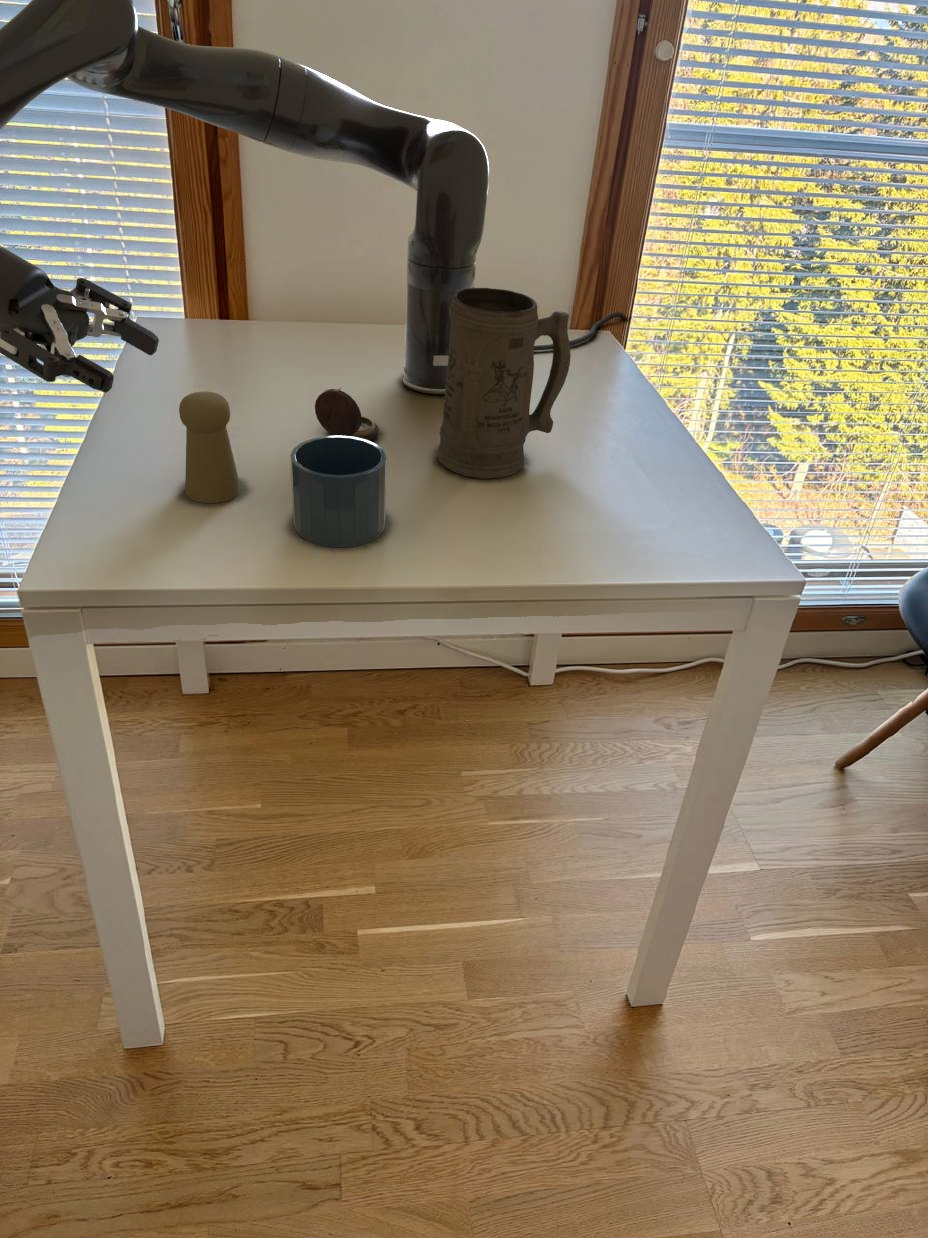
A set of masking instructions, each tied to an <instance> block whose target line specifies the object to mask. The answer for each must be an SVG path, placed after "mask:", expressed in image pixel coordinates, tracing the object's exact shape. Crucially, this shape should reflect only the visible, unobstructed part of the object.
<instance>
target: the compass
mask: <svg viewBox="0 0 928 1238" xmlns="http://www.w3.org/2000/svg"><path fill="white" fill-rule="evenodd" d="M314 412H315V413H314V414H315V416H316V419H317V421H318V423H319V424H320V425H321V427H322V428H323V429H324V430H325V431H326V432H327V433H329V434H330V436H351V437H357V438H361V439H365V440H368V441H371V440H373V439H374V438H376V437H377V436H378V435H379V426H378V424H377V423H375V422H374V421H372V420H371V419H370V418H368V417H365V416H362V413H361V410H360V407H359V405H358V403H357V402H356V400H355V399H353V398H352V395H351V396H350V395H349V394H348V393H346V392H345V391H343V390H342V387H339V388H329V389H326V390H324V391H323V392H322V393H320V394H319V395H318V396H317V398H316V399H315V403H314Z"/></svg>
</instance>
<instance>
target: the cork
mask: <svg viewBox="0 0 928 1238" xmlns="http://www.w3.org/2000/svg"><path fill="white" fill-rule="evenodd" d="M178 413H179V418H180V421H181V423H182V425H184V427H185V428H186V435H185V437H186V439H185V441H186V442H185V476H184V477H185V479H184V492H185V493H184V494H185V496H186V497H187V498H188V499H190V500H192V501H194V502H198V503H202V504H220V503H223V502H225V503H226V502H228V501H230V500H233V499H235V498H236V497H238V496H239V495H240V493H241V491H242V488H241V483H240V479H239V475H238V471H237V466H236V463H235V458H234V453H233V450H232V445H231V441H230V437H229V431H228V428H227V425H228V423H229V422H230V419H231V408H230V404H229V401H228V400H227V399H226V398H225V396H223V395H221V394H219V393H217V392H213V391H195V392H192V393H189V394H187V395H185V396H184V397H182V399H181V401H180V403H179V405H178Z"/></svg>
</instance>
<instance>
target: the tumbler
mask: <svg viewBox="0 0 928 1238" xmlns="http://www.w3.org/2000/svg"><path fill="white" fill-rule="evenodd" d="M289 457H290V477H291V478H290V479H291V496H292V497H291V500H292V518H293V527H294V530H295V532H296V533H297V534H298V536H300V537H301V538H302V539H304V540H305V541H307V542H310V543H312V544H315V545H317V546H323V547H329V548H351V547H357V546H362V545H365V544H368V543H370V542H373V541H374V540H376V539H377V538H379V537H380V536H381V535H382V533H383V532H384V530H385V527H386V518H387V517H386V515H387V514H386V512H387V468H388V467H387V466H388V465H387V464H388V463H387V459H388V456H387V454H386V452H385V450H384V448H382V447H381V446H379V445H378V444H377V443H375V442H372V441H371V440H369V441H368V440H365V439H361V438H357V437H351V436H332V435H325V436H319V437H313V438H310V439H307V440H305V441H303V442H302V441H301V442H300V443H299V444H297V445H296V446H295V447H293V448H292V451H291V453H290V455H289Z"/></svg>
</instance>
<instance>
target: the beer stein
mask: <svg viewBox="0 0 928 1238" xmlns="http://www.w3.org/2000/svg"><path fill="white" fill-rule="evenodd" d="M449 316H450V319H451V334H450V346H449V357H448V368H447V378H446V388H445V394H444V399H443V410H442V411H443V413H442V421H441V422H442V423H441V425H440V429H439V439H440V440H439V445H438V449H437V459H438V461H439V463H440V464H441V465H442V466H444V468H446V469H448V470H450V471H451V472H454V473H456V474H458V475H460V476H464V477H470V478H476V479H499V478H504V477H509V476H511V475H515V474H516V473H518V472H520V471H521V470H522V468H523V466H524V464H525V451H524V445H525V443H526V439H527V436H528V434H529V433H531V432H535V431H538V432H542V433H545V434H549V433H552V429H553V427H554V420H553V418H552V415H551V411H552V408H553V406H554V403H555V402H556V400H557V398H558V396H559V394H560V393H561V391H562V390H563V387H564V385H565V382H566V380H567V378H568V377H567V376H568V374H569V371H570V365H571V355H572V354H571V346H570V343H569V341H570V339H569V333H568V331H569V329H568V328H569V327H568V325H569V318H570V314H569V313H568V312H565V311H557V310H555V311H553V312H552V313H551V315H549V316H547V317H542V318H539V313H538V304H537V302H536V300H535V299H534V298H532V297H531V296H529V295H526V294H523V293H520V292H516V291H514V290H509V289H501V288H489V287H474V288H467V289H462V290H459V291H457V292H455V294H454V295H453V297H452V302H451V306H450V308H449ZM541 336H543V337H544V336H547V337H549V338H550V339H551V341H552V344H553V349H552V361H551V367H550V370H549V374H548V375H549V376H548V378H547V381H546V384H545V387H544V389H543V392H542V394H541V397H540V399H539V401H538V403H537V404H536V407H535V408H534V410H533V412H532V413H530V412H531V411H530V409H531V398H532V390H533V383H534V382H533V380H534V371H535V356H534V354H535V350H534V345H535V343H536V341H537V340H538V339H539V338H540V337H541Z"/></svg>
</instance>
